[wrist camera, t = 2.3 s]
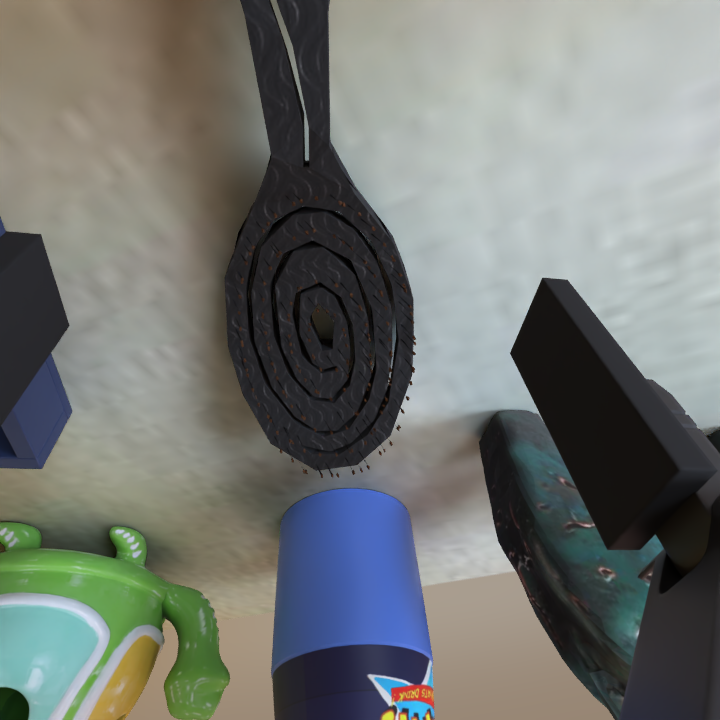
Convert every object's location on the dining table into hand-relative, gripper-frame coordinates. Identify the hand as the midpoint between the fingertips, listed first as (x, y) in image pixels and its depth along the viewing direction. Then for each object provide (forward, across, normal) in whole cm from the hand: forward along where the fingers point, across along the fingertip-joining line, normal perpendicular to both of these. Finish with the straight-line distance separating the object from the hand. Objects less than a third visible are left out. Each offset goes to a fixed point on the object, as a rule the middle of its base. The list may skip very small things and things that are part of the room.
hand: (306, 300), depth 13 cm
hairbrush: (+7, 0, 0) cm, 7 cm away
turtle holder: (+7, -13, -28) cm, 31 cm away
